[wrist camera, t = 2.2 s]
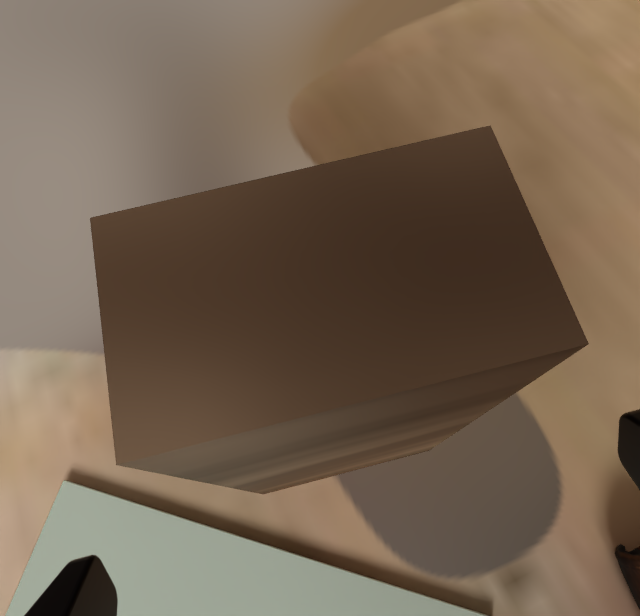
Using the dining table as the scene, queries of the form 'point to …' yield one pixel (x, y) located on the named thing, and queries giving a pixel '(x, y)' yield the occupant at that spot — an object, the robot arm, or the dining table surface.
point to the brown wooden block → (325, 314)
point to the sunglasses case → (630, 569)
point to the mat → (200, 567)
